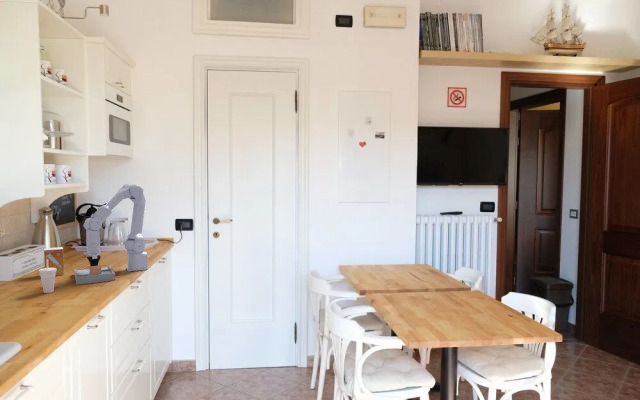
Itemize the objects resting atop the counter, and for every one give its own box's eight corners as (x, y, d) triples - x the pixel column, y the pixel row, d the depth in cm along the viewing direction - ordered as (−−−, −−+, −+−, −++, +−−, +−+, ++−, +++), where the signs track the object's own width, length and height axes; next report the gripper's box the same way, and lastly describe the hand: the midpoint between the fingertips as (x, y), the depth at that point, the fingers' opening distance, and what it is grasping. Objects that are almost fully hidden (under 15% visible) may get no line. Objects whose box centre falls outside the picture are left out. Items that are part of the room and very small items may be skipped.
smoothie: (38, 294, 182) (37, 261, 181) (40, 290, 188) (39, 258, 187) (57, 292, 185) (55, 259, 184) (57, 289, 191) (56, 257, 190)
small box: (44, 277, 212) (43, 250, 211) (44, 274, 217) (43, 248, 216) (64, 274, 216) (63, 248, 215) (63, 272, 221) (62, 246, 220)
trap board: (110, 270, 225) (110, 264, 225) (115, 280, 206) (115, 273, 206) (74, 274, 217) (74, 267, 216) (76, 284, 198) (76, 277, 197)
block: (100, 274, 208) (100, 265, 208) (101, 276, 204) (101, 267, 204) (89, 276, 206) (89, 266, 206) (90, 278, 202) (90, 268, 202)
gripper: (82, 241, 215) (83, 269, 216) (84, 246, 202) (85, 275, 203) (99, 240, 218) (100, 267, 219) (101, 244, 206) (102, 273, 207)
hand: (94, 271), depth 211 cm, fingers closed
